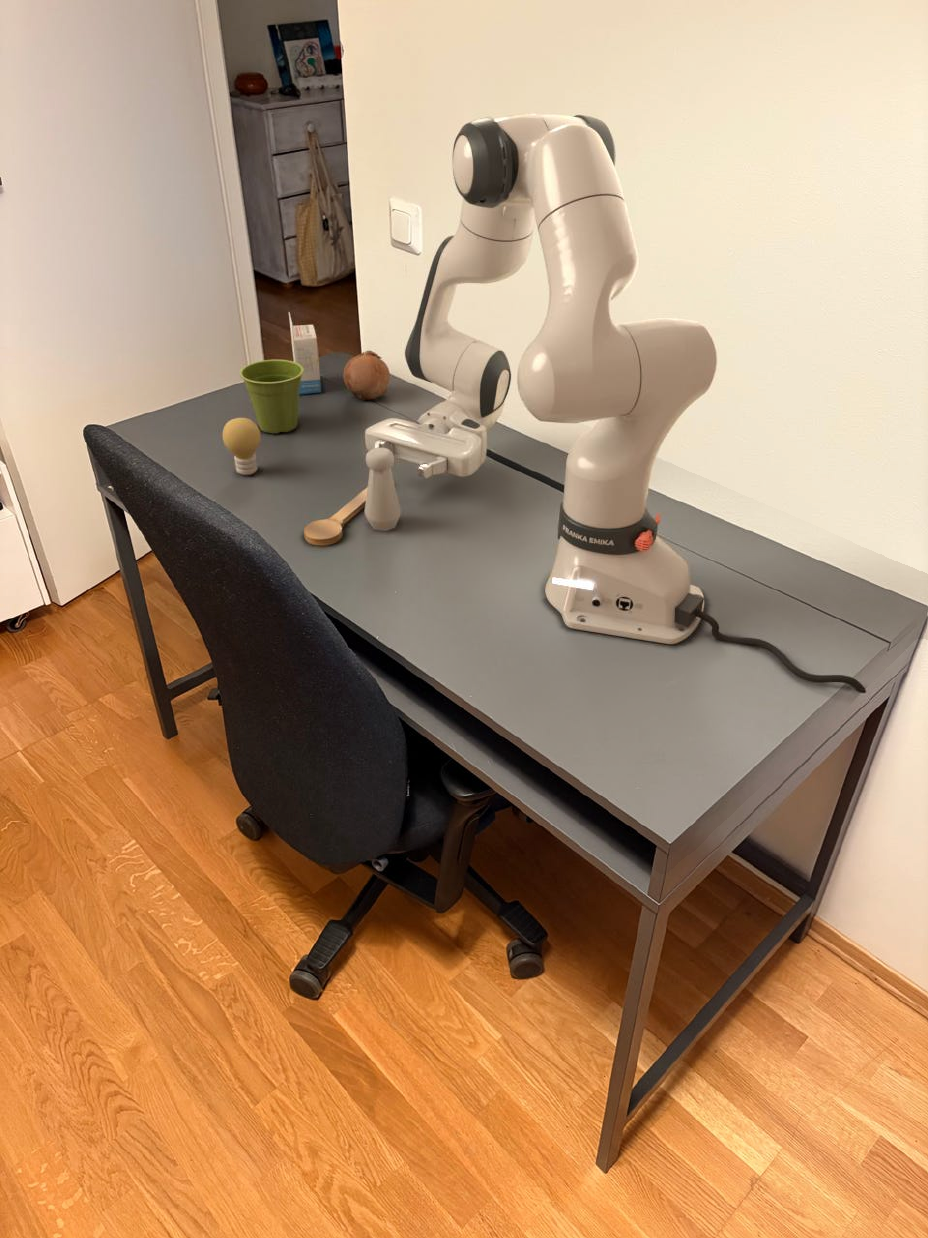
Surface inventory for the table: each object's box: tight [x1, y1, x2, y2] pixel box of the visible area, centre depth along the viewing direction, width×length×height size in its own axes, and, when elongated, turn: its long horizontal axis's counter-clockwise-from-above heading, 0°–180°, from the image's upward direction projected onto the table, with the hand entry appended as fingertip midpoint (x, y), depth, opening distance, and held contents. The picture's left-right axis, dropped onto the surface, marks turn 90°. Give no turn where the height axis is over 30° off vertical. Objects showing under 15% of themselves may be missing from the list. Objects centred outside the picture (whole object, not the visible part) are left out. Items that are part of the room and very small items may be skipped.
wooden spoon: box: [303, 486, 368, 547], centre depth 150 cm, size 22×6×1 cm, turn 154°
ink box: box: [288, 311, 322, 395], centre depth 188 cm, size 8×5×15 cm, turn 13°
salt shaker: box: [364, 448, 402, 532], centre depth 144 cm, size 6×6×13 cm
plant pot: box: [239, 359, 304, 434], centre depth 174 cm, size 12×12×11 cm
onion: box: [342, 350, 391, 401], centre depth 186 cm, size 10×9×10 cm
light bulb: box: [222, 417, 262, 476], centre depth 159 cm, size 6×6×10 cm
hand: (397, 466), depth 145 cm, fingers open, 8 cm apart
